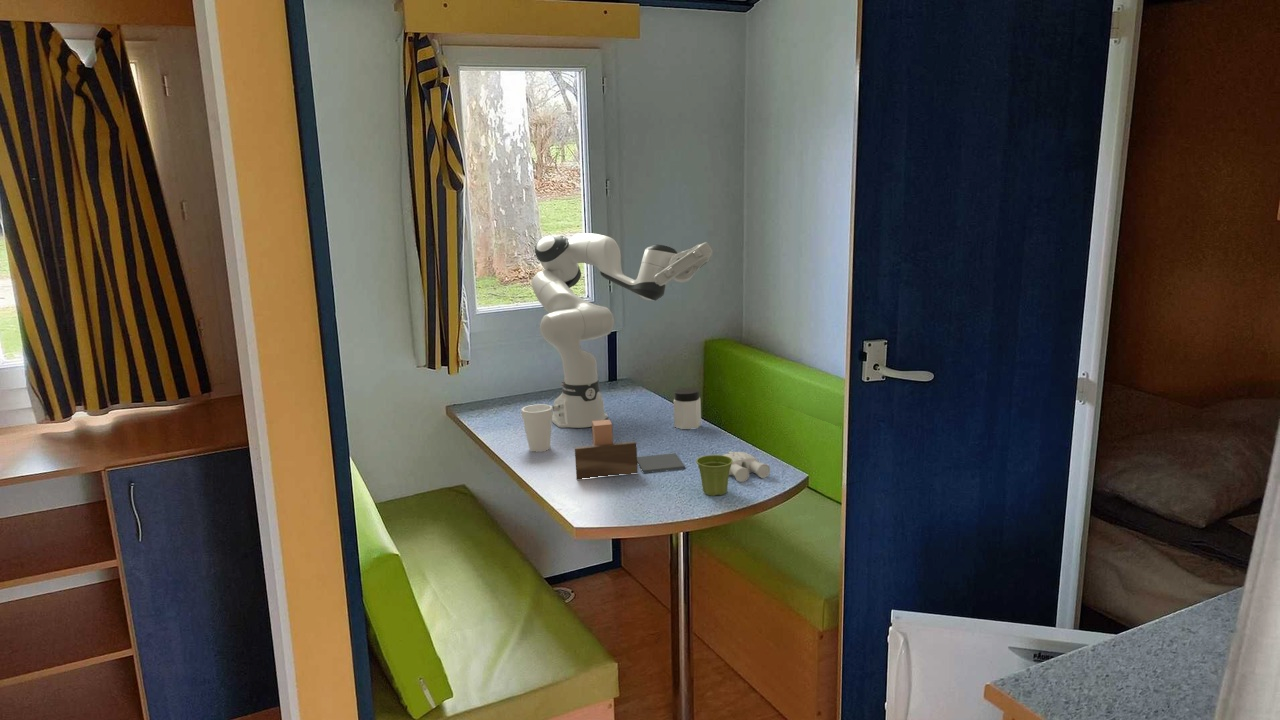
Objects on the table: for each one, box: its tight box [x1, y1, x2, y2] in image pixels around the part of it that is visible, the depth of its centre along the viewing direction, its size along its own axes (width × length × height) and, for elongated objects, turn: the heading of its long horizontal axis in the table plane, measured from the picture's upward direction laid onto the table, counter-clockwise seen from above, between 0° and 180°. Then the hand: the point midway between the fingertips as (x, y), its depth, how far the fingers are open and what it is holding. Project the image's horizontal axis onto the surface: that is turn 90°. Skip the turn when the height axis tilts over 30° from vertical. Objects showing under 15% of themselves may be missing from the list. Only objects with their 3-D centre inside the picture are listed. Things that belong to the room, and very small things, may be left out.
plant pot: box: [696, 454, 733, 496], centre depth 232 cm, size 9×9×9 cm
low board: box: [574, 441, 639, 480], centre depth 248 cm, size 2×17×9 cm, turn 100°
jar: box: [672, 387, 702, 430], centre depth 291 cm, size 9×8×12 cm
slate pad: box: [637, 452, 686, 473], centre depth 257 cm, size 12×12×1 cm
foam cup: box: [520, 403, 554, 453], centre depth 275 cm, size 10×9×13 cm
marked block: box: [591, 419, 614, 446], centre depth 252 cm, size 5×5×14 cm
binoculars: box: [721, 450, 771, 483], centre depth 248 cm, size 10×16×5 cm, turn 21°
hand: (683, 262), depth 276 cm, fingers open, 8 cm apart
